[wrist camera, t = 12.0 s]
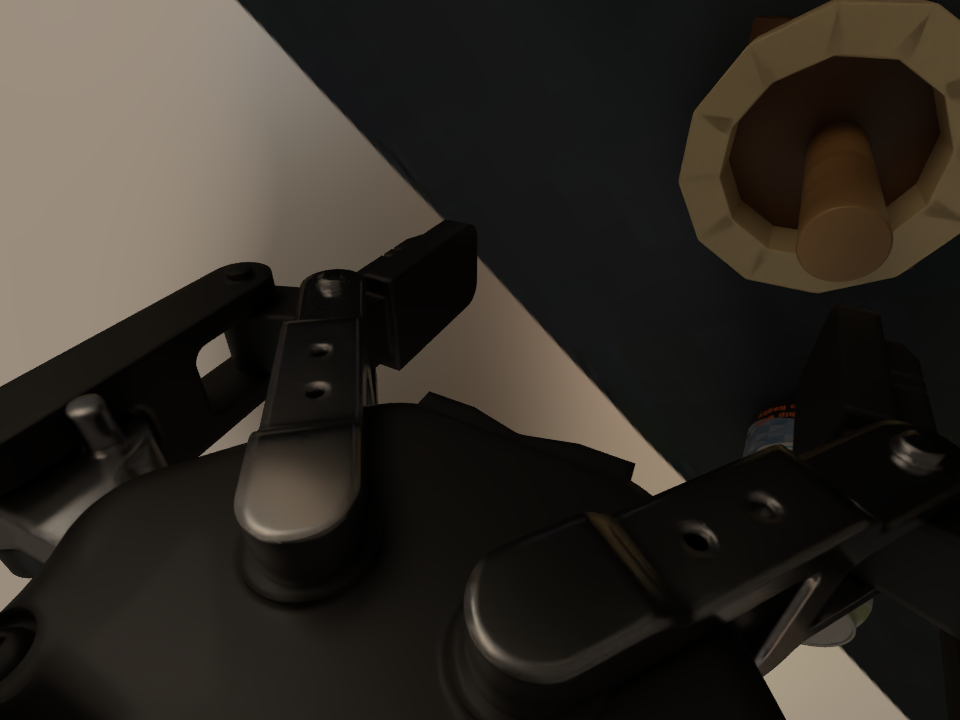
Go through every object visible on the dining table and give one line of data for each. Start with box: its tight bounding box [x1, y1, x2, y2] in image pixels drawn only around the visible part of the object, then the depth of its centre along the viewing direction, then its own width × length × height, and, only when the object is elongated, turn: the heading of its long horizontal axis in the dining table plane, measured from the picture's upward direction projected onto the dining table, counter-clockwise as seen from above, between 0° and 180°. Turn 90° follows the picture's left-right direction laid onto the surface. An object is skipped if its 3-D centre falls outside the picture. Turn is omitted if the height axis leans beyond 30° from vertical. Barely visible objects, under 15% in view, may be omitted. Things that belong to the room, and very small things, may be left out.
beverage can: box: [743, 400, 873, 647], centre depth 27 cm, size 6×7×12 cm
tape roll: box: [679, 0, 960, 293], centre depth 22 cm, size 10×10×3 cm
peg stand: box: [729, 16, 940, 282], centre depth 19 cm, size 9×9×12 cm
